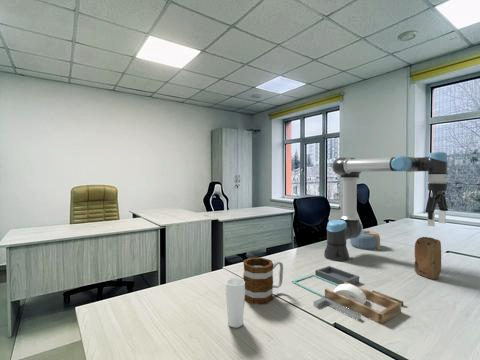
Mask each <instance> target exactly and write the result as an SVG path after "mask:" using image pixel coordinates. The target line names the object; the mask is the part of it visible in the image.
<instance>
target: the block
mask: <svg viewBox="0 0 480 360" xmlns="http://www.w3.org/2000/svg"><path fill="white" fill-rule="evenodd" d="M441 243H442V242H441V240H439V239H435V238H433V237H428V236H422V237H419V238H417V239H416V241H415V242H414V272H415V273H416V274H418V275H420V276H422V277H424V278H427V279H429V280H437V279H439V277H440V275H441V272H442V244H441Z"/></svg>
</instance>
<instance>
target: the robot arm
mask: <svg viewBox="0 0 480 360" xmlns="http://www.w3.org/2000/svg"><path fill="white" fill-rule="evenodd" d="M331 168H332V171H333V172H334V173H335V174H336V175H339V177H340V179H341V180H342V215H341V216H340V218H339V219H332V220H329V221H328V222H327V224H326V225H327V226H326V247H325V249H324V252H323V256H324V258H326V259H327V260H330V261H337V262H346V261H349V260H350V254H349V251H348V247H347V240H350V239H351V238H356V237H358V236H359V235H360V234H361V233H362V230H363V225H362V224H361V222H360V218H359V217H358V215H357V212H358V211H357V209H358V208H357V204H358V202H357V197H358V196H357V195H358V192H357V191H358V189H357V184H358V179H360V174H361V173H362V172H363V173H364V172H367V173H369V172H371V173H372V172H405V173H406V172H409V173H411V172H413V173H414V172H415V173H417V172H427V182H428V184H427V190H428V191H430V192H428V197H427V198H428V199H427V201H426V207H425V212H424V213H427V226H428V227H435V223H436V219H435V218H436V213H435V211H436V208H437V206H438V209H439V210H438V224H444V225H445V224H446V212H448V211H449V209H448V203H447V199H446V191H447V190H448V189H447V188H448V187H447V186H448V184H447V179H448V178H449V177H448V174H447V173H448V154H447V153H446V152H443V151H442V152H440V151H438V152H437V151H435V152H428V154H427V156H424V157H411V156H404V155H402V156H401V155H400V156H391V157H388V156H387V157H376V158H354V157H345V156H344V157H338V158H335V160H333V162H332V166H331Z"/></svg>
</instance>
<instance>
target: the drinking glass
mask: <svg viewBox="0 0 480 360" xmlns="http://www.w3.org/2000/svg"><path fill="white" fill-rule="evenodd" d="M225 297H226V300H225V301H226V307H227V308H226V310H227V324H228V326H229V327H231V328H234V329H235V328H241V327H242V326H243V325H244V312H245V302H246V301H245V281H244V280H243V278H237V277H235V278H234V277H233V278H230V279H228V280H226V282H225Z"/></svg>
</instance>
